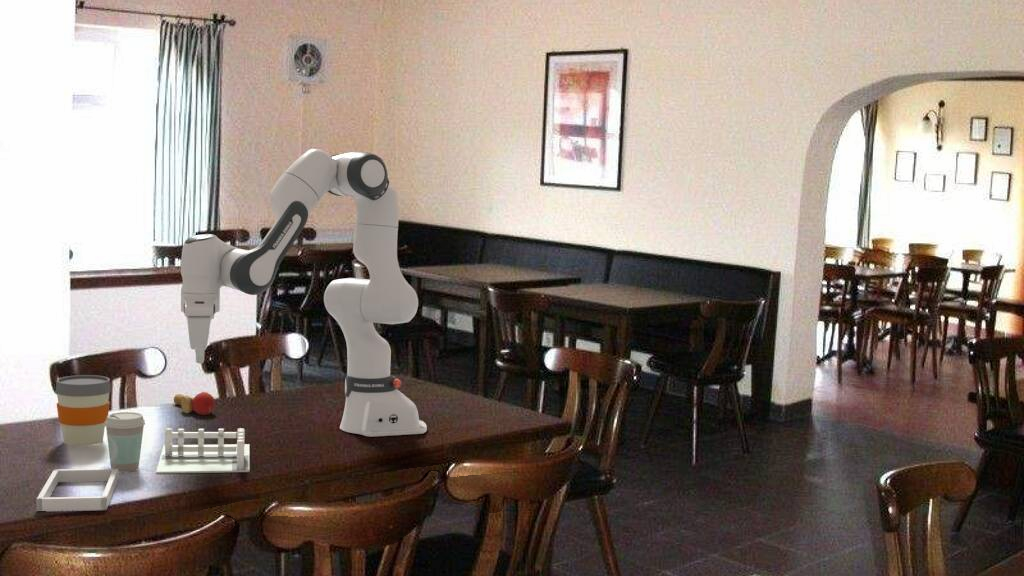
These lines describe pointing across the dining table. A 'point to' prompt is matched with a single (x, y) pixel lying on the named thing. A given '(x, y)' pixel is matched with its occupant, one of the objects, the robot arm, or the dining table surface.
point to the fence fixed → (240, 449)
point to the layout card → (202, 461)
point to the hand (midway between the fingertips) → (200, 362)
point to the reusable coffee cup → (83, 408)
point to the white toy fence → (200, 436)
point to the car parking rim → (77, 503)
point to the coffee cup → (124, 440)
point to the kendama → (196, 403)
